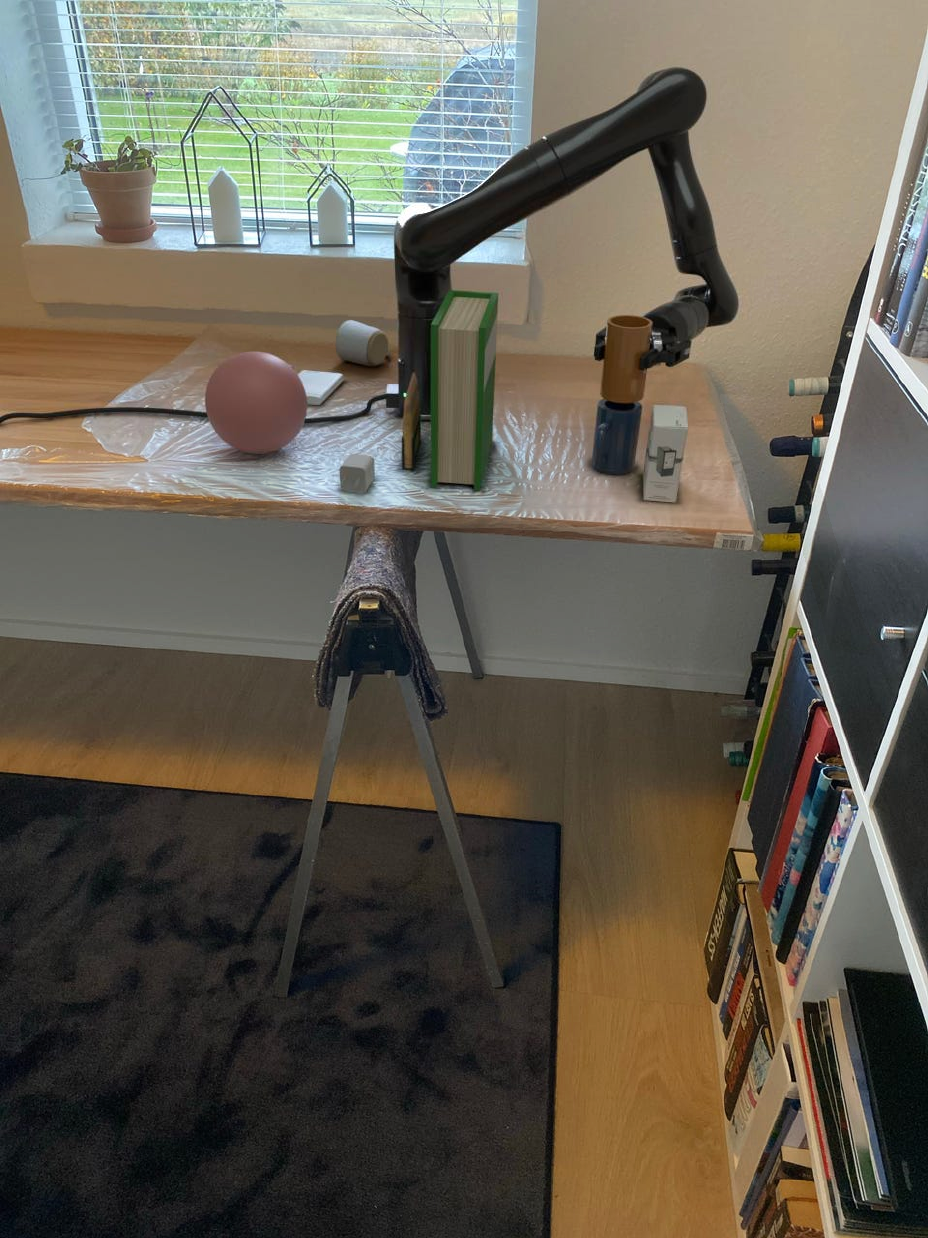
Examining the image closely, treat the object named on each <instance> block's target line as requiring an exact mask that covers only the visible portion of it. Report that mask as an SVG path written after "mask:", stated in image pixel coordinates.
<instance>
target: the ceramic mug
mask: <svg viewBox="0 0 928 1238" xmlns="http://www.w3.org/2000/svg"><path fill="white" fill-rule="evenodd" d="M335 350H336V354H337V356H338V357H339V358H340V359H341V360H343V361H346V362H351V363H354V364H360V365H363V366H367V367H377V366H379V365H381V364H382V363H383V362H384V361H385V359H386V357H389V356H390V354H391V348H389V339H388V336H387V334H386V333H385V332H384V331H383V330H381V329H379V328H377V327H375V326H371V325H367V324H365V323H362V322H359V321H355V320H352V319H349V320H346V321H344V322H343V323H342V324H341V325H340V327H339V328H338V330H337V333H336V337H335Z"/></svg>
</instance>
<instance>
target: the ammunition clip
mask: <svg viewBox="0 0 928 1238" xmlns="http://www.w3.org/2000/svg"><path fill="white" fill-rule="evenodd" d="M402 417H403V418H402V437H401V470H403V471H404V470H407V471H415V468H416V465H417V461H418V456H419V452H420V448H421V444H422V425H421V424H422V420H421V414H420V403H419V395H418V382H417V377H416V374H415V372H414V373H413V375H412V378H411V381H410V384H409V387H408V391H407V394H406V397H405V402H404V416H402Z"/></svg>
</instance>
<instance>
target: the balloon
mask: <svg viewBox="0 0 928 1238" xmlns="http://www.w3.org/2000/svg"><path fill="white" fill-rule="evenodd" d="M204 407H205V412H207V416H208V422H209V423H210V425H211V427H212V429H213V431H214V432H215V433H216V434H217V436H218V437H219V438H220V439H221V440H222V441H223V442H225V443H226V444H227V445H229V446H230V447H232V448H234V449H236V450H238V451H240V452H243V453H247V454H254V455H263V454H264V455H265V454H269V453H270V454H271V453H274V452H277V451H279V450H282V449H283V448H285V447H286V446H288V445H289V444H290V443H291V442H293V440H294V439H296V437H297V436H298V435H299V433H300V432H301V431H302V428H303V427H304V425H305V424H304V421H305V418H307V413H308V404H307V397H306V392H305V389H304V386H303V384H302V381H301V380H300V378H299V376H298V373H297V371H295V368H294V366H293V365H292V364H288V362H286V361H285V360H283V359H282V358H280V357H278V356H276V355H273V354H271V353H268V352H263V351H244V352H239V353H237V354H234V355H232V356H230V357H228V358H226V359H225V360H223V362H221V363H220V364H219V365H218V366H217V367H216V369H215V370H214V371H213V373H212V374H211V375H210V378H209V380H208V382H207V384H206V389H205V396H204Z"/></svg>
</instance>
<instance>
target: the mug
mask: <svg viewBox="0 0 928 1238" xmlns="http://www.w3.org/2000/svg"><path fill="white" fill-rule="evenodd" d="M596 408H597V409H596V417H595V426H594V437H593V445H592V446H593V447H592V456H591V466H592V468H593V469H594V470H596V471H597V472H600V473H603V474H606V475H613V476H617V475H626V474H629V473H631V472H633V471H634V469H635V464H636V460H637V459H636V458H637V450H638V443H639V435H640V427H641V421H642V412H643V404H642V403H641V402H640V401H638V402H634V403H617V402H612V401H608V400H606V399H604V398H602V399H600V400H598V402H597V407H596Z"/></svg>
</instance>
